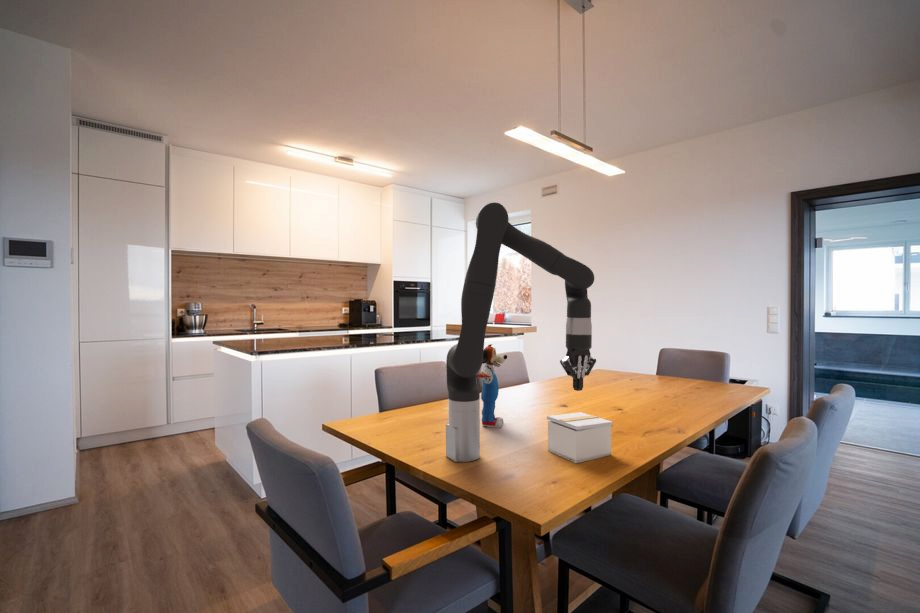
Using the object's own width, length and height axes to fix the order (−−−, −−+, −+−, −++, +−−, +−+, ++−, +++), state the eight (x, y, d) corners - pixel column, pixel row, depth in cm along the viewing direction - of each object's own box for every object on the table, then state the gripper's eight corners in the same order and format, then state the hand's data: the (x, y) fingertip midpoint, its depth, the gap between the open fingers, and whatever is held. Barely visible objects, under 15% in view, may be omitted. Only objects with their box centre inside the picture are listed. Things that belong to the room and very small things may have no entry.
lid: (577, 430, 121) (577, 425, 121) (546, 419, 132) (547, 415, 132) (612, 425, 128) (612, 420, 128) (580, 415, 139) (580, 411, 139)
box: (575, 463, 121) (575, 431, 121) (548, 450, 132) (548, 421, 132) (611, 454, 128) (611, 424, 128) (581, 443, 139) (581, 415, 139)
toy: (502, 439, 143) (502, 349, 143) (472, 437, 145) (472, 348, 145) (511, 413, 176) (511, 340, 176) (486, 412, 178) (486, 340, 178)
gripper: (570, 334, 123) (570, 394, 123) (604, 333, 129) (603, 390, 129) (553, 332, 130) (552, 389, 130) (585, 331, 136) (585, 386, 136)
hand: (578, 390), depth 130 cm, fingers closed
